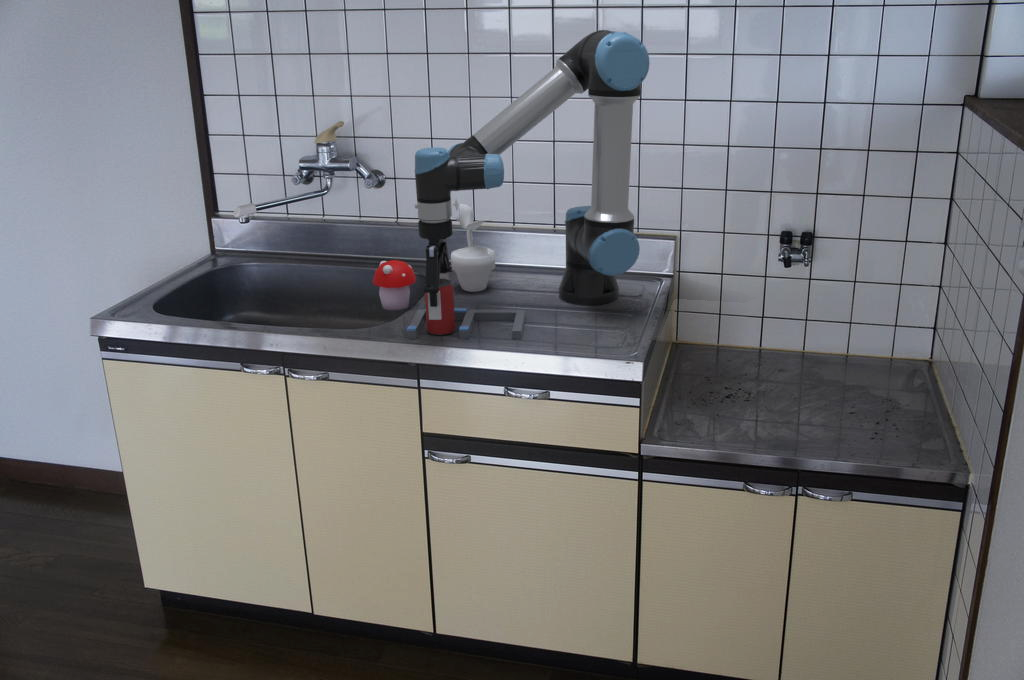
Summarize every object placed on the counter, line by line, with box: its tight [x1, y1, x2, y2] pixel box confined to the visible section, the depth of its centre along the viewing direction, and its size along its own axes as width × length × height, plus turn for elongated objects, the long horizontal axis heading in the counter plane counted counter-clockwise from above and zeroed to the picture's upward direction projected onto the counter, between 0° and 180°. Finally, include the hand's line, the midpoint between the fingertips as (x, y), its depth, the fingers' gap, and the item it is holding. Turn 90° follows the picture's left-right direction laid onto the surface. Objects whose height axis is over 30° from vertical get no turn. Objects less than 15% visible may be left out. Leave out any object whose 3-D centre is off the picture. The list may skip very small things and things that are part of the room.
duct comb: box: [406, 307, 526, 340], centre depth 226 cm, size 26×14×2 cm, turn 85°
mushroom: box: [372, 259, 417, 311], centre depth 241 cm, size 11×11×12 cm
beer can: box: [424, 279, 456, 336], centre depth 223 cm, size 7×7×12 cm
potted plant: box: [450, 199, 496, 293], centre depth 250 cm, size 13×12×25 cm
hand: (439, 309), depth 223 cm, fingers open, 13 cm apart
